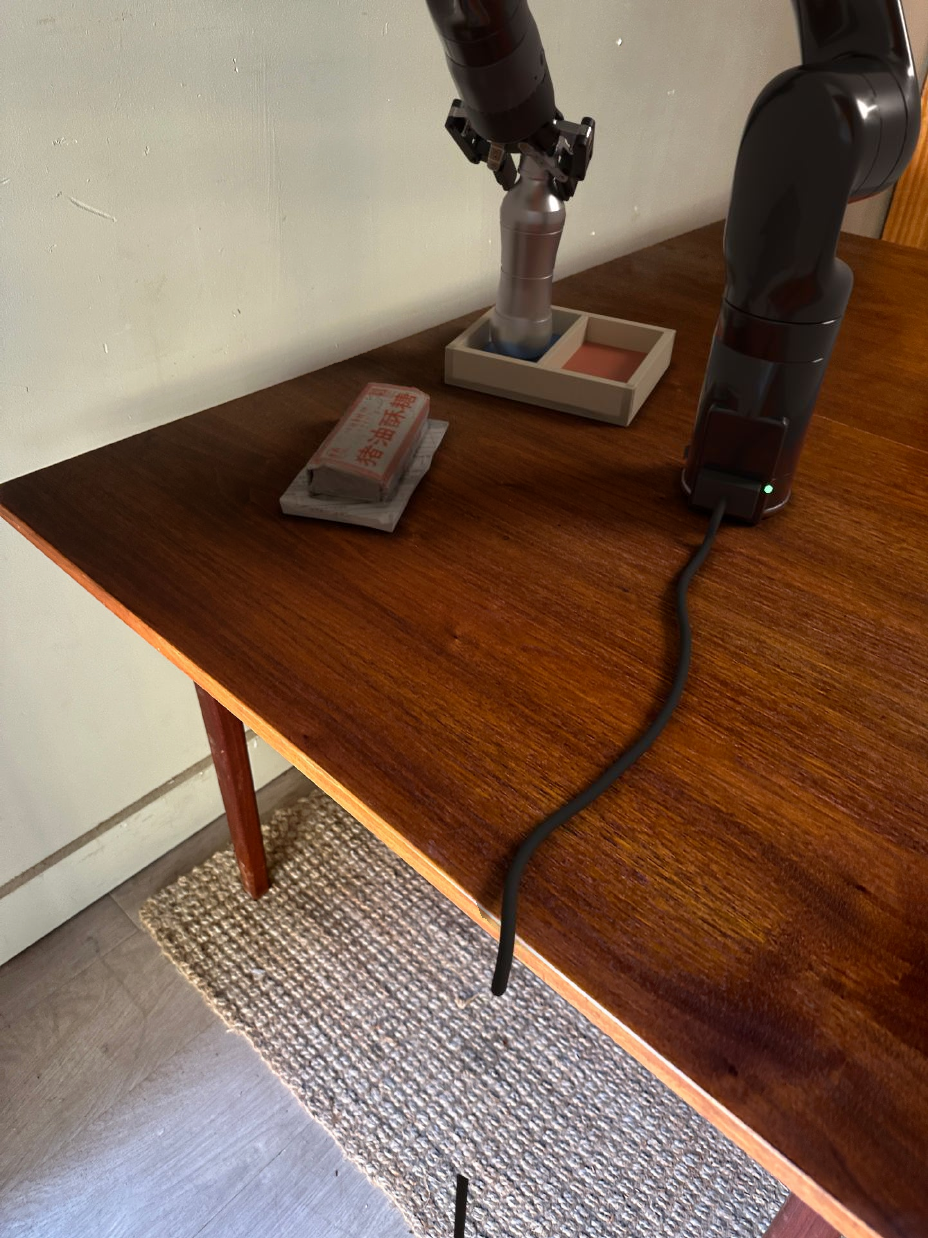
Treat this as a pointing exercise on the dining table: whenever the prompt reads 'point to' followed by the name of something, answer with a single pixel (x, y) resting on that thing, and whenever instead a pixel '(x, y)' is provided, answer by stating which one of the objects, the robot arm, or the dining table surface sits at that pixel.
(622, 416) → the sorting tray
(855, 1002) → the dining table surface
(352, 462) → the packaged product
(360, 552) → the dining table surface
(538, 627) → the dining table surface
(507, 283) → the plastic bottle
